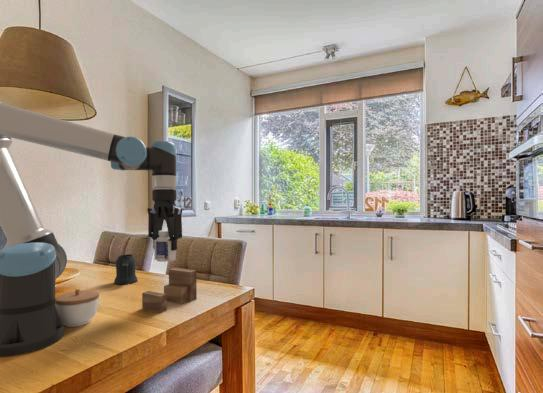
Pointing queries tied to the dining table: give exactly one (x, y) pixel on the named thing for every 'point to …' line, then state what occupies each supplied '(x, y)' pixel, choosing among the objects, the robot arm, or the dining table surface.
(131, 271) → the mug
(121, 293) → the dining table surface
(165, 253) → the pill bottle
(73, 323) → the lidded jar
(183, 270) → the cluster of brown boxes
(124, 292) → the dining table surface
